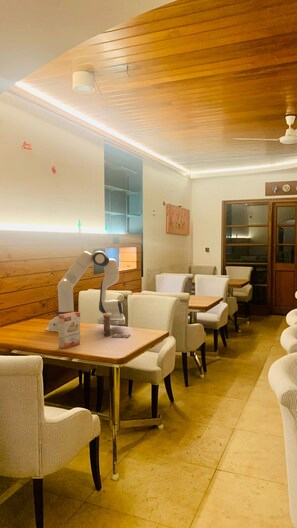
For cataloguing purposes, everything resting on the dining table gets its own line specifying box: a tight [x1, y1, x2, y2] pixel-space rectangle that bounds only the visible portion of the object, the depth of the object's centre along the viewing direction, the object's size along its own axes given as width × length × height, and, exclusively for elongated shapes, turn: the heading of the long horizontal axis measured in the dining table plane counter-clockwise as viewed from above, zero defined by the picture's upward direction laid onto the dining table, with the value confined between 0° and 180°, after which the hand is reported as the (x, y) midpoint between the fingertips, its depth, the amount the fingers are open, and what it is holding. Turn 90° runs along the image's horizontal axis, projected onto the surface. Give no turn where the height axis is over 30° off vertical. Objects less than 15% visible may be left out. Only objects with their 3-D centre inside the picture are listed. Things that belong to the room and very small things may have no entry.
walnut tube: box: [102, 313, 111, 338], centre depth 275 cm, size 5×5×15 cm
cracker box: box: [58, 311, 81, 350], centre depth 248 cm, size 14×6×21 cm, turn 146°
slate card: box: [110, 333, 131, 339], centre depth 274 cm, size 12×8×1 cm, turn 80°
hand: (108, 323), depth 280 cm, fingers open, 8 cm apart
